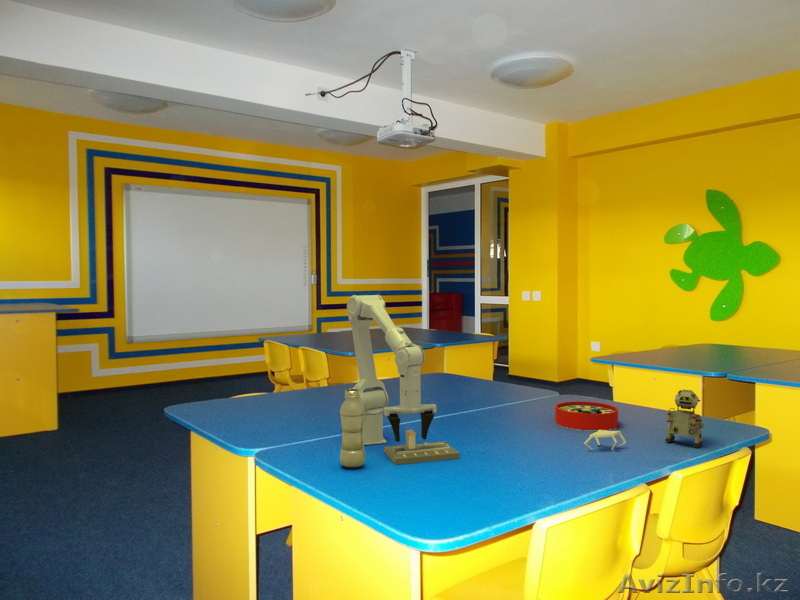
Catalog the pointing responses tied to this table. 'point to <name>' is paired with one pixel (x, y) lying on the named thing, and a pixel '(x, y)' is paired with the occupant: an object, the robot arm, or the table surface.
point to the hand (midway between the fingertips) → (410, 439)
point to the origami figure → (605, 434)
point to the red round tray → (586, 415)
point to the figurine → (685, 418)
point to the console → (422, 453)
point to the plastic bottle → (352, 430)
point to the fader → (410, 441)
